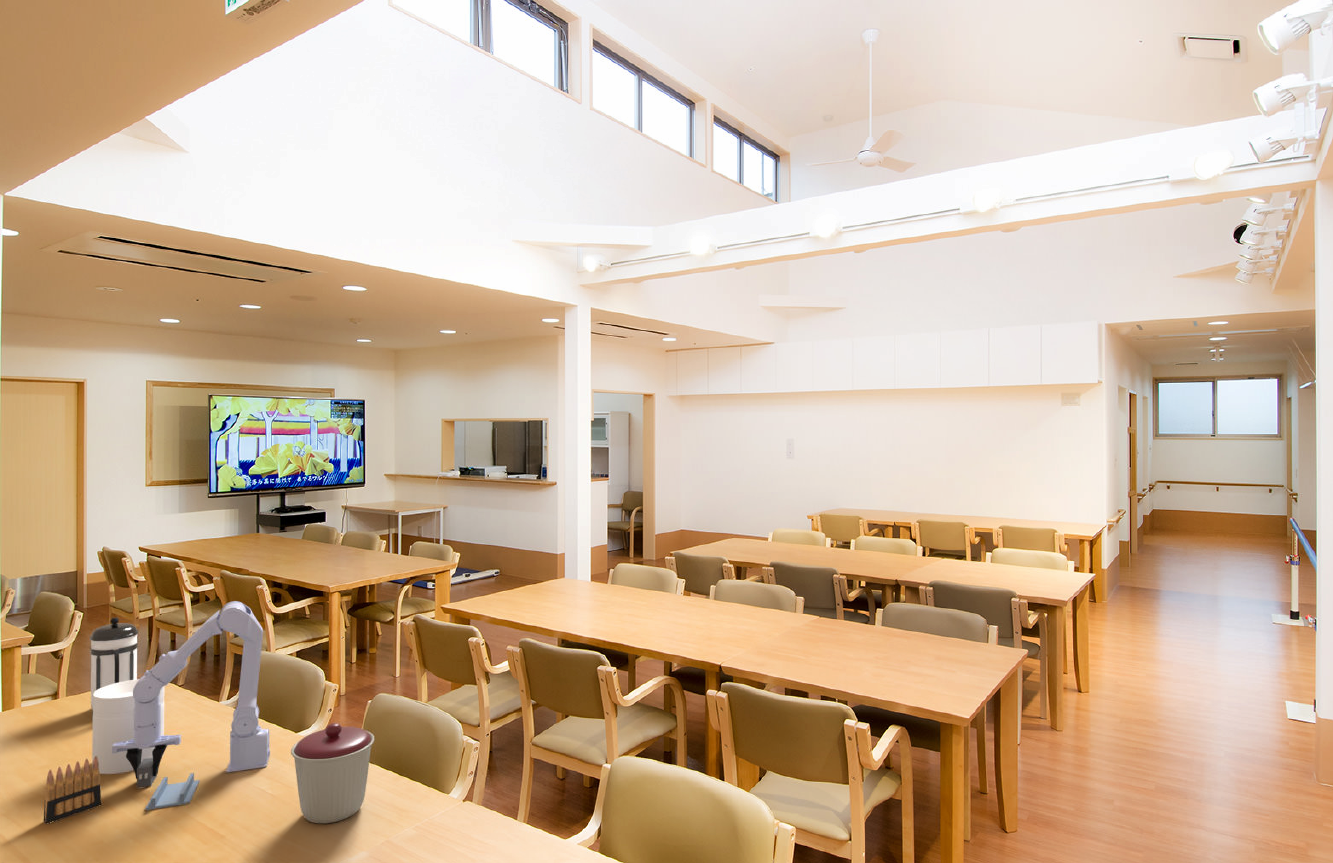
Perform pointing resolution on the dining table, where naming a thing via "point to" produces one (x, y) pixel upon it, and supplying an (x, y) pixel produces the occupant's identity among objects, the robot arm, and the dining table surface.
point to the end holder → (173, 793)
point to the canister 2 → (332, 772)
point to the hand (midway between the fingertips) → (147, 776)
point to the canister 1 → (116, 725)
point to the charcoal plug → (145, 773)
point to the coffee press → (113, 654)
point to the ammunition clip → (72, 792)
